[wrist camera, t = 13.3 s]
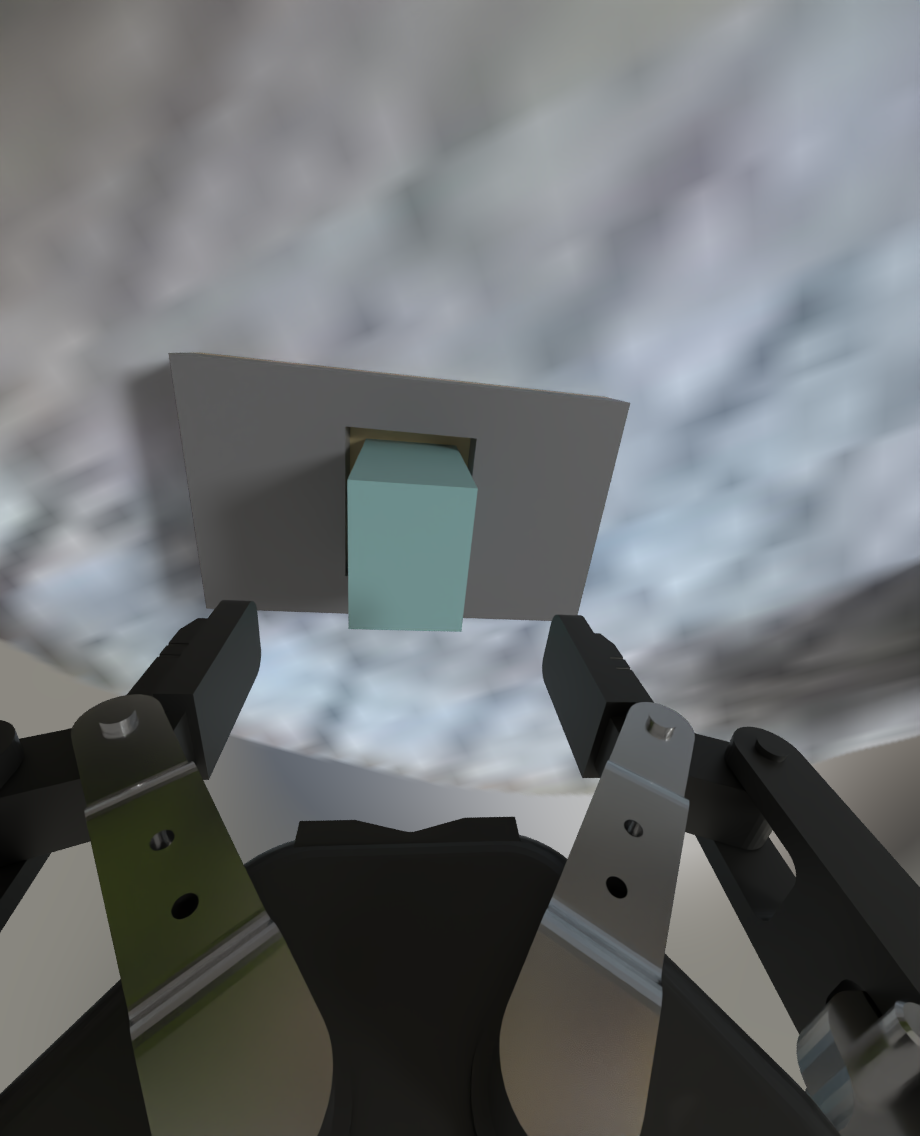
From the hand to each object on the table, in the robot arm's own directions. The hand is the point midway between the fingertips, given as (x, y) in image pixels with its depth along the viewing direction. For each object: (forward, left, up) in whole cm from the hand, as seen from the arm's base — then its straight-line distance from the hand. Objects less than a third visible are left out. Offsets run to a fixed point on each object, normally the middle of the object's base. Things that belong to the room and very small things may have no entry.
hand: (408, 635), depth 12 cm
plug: (0, 0, -13) cm, 13 cm away
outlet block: (0, 0, -14) cm, 14 cm away
